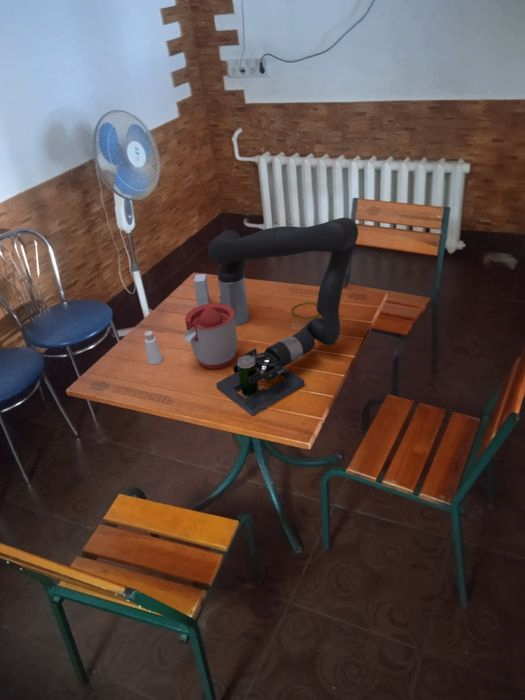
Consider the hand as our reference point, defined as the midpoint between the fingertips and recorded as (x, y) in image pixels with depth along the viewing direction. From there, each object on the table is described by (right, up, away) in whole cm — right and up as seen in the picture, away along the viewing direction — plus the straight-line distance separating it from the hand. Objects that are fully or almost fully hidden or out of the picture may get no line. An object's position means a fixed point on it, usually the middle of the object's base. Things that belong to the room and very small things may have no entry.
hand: (241, 375), depth 163 cm
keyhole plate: (+5, -4, +7) cm, 10 cm away
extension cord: (+25, +21, +42) cm, 53 cm away
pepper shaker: (-30, +4, +25) cm, 39 cm away
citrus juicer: (-10, +4, +21) cm, 24 cm away
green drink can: (+2, -5, +6) cm, 8 cm away
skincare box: (-16, +24, +53) cm, 60 cm away
